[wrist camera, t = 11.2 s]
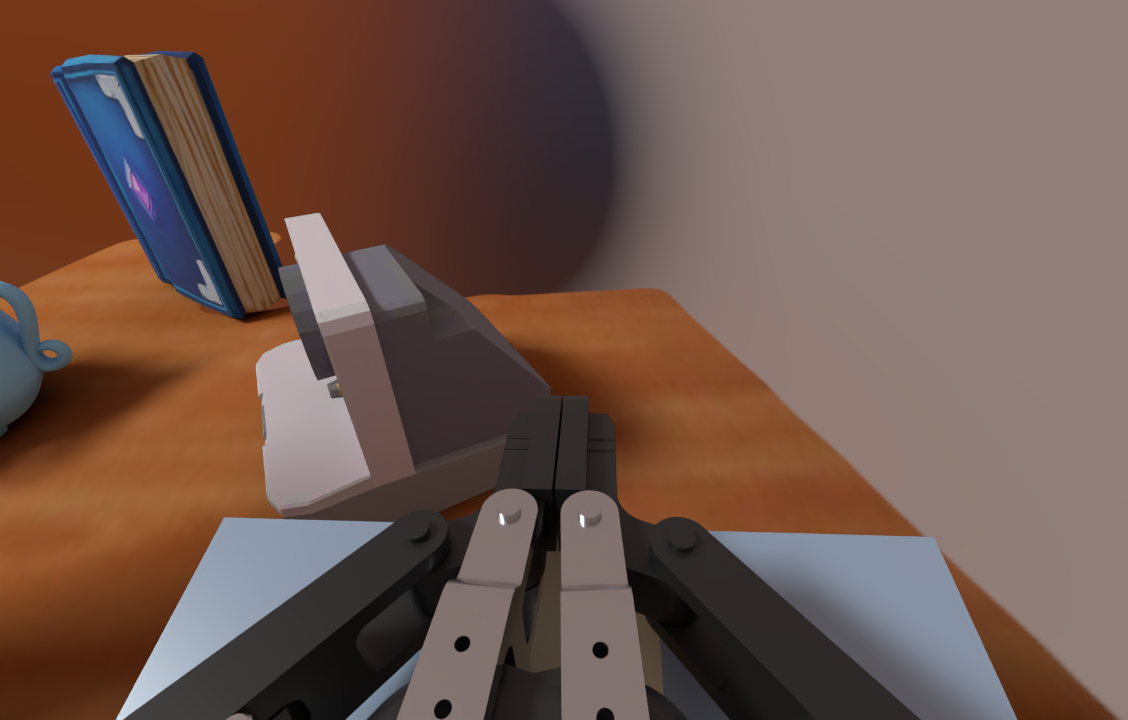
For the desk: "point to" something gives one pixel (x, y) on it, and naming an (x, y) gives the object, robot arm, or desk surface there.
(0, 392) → the decorative pot
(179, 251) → the book
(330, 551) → the lid
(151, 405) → the desk surface
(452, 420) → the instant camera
